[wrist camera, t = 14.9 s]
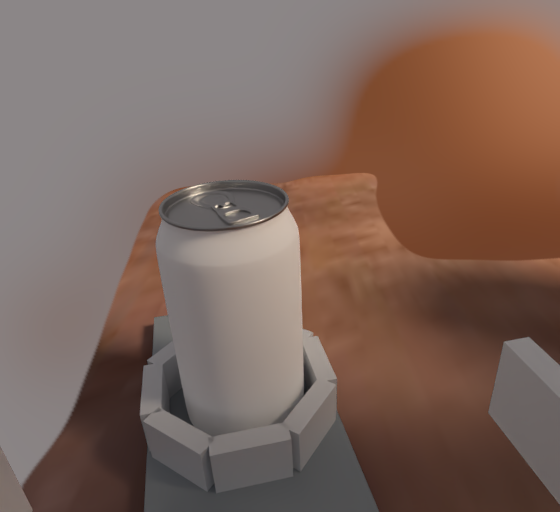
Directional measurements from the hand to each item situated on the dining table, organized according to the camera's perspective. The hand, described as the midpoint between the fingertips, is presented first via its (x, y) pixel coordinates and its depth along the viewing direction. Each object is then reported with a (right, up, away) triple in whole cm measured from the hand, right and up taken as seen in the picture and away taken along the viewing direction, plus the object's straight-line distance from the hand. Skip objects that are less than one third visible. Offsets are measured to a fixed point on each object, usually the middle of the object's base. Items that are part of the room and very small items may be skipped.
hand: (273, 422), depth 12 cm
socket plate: (-2, -5, +14) cm, 15 cm away
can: (-2, -4, +14) cm, 14 cm away
